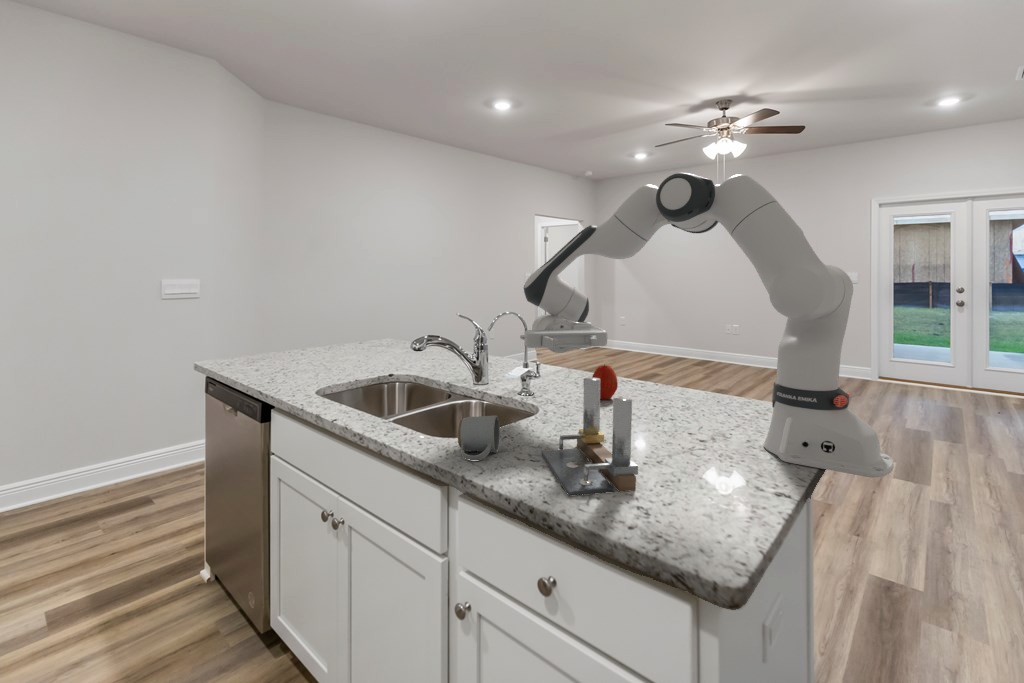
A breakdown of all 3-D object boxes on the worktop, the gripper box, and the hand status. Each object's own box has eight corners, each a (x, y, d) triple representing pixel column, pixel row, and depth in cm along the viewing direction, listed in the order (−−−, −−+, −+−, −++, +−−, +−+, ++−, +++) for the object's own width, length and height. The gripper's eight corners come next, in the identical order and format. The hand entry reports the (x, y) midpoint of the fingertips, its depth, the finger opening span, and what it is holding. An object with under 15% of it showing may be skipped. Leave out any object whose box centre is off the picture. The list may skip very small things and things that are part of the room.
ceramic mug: (464, 443, 110) (463, 410, 109) (500, 444, 109) (500, 411, 108) (453, 462, 100) (452, 425, 98) (493, 463, 99) (492, 427, 98)
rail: (576, 445, 109) (577, 434, 108) (589, 444, 109) (590, 433, 109) (619, 491, 85) (619, 478, 85) (635, 490, 86) (635, 476, 85)
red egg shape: (622, 401, 146) (623, 365, 145) (596, 402, 145) (597, 366, 143) (610, 394, 154) (611, 360, 153) (586, 396, 153) (586, 362, 151)
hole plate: (541, 454, 103) (541, 450, 103) (578, 451, 104) (578, 447, 104) (569, 496, 84) (569, 490, 83) (613, 492, 85) (613, 487, 85)
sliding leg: (556, 445, 105) (557, 378, 103) (596, 442, 106) (597, 376, 104) (562, 452, 100) (562, 383, 98) (603, 449, 102) (605, 381, 100)
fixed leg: (579, 475, 89) (580, 398, 87) (627, 471, 91) (629, 396, 89) (587, 485, 85) (589, 404, 83) (637, 481, 86) (639, 402, 84)
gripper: (518, 323, 124) (530, 329, 111) (596, 322, 128) (616, 328, 114) (518, 348, 125) (529, 357, 112) (595, 346, 129) (615, 355, 115)
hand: (574, 342), depth 113 cm, fingers open, 8 cm apart
